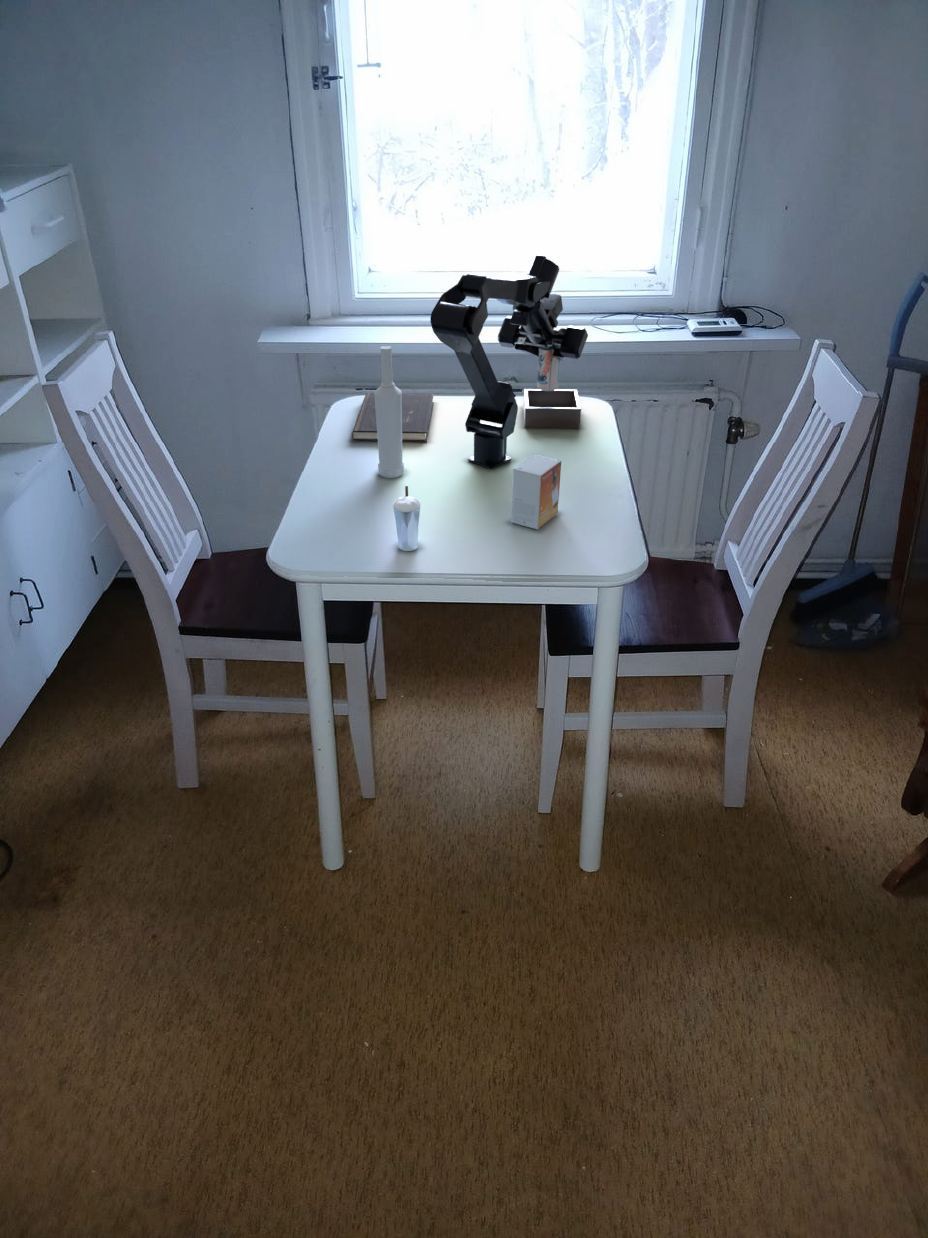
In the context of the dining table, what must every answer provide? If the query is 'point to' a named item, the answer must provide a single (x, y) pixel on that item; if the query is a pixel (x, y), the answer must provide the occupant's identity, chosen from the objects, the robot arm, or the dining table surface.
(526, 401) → the crate
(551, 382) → the beer can
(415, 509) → the milkshake
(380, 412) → the bottle
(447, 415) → the dining table surface
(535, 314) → the robot arm
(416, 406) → the hardcover book
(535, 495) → the small box
